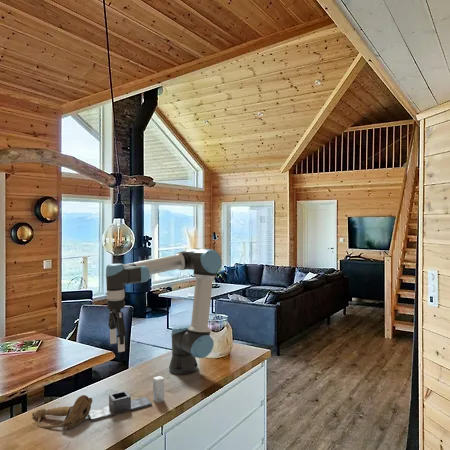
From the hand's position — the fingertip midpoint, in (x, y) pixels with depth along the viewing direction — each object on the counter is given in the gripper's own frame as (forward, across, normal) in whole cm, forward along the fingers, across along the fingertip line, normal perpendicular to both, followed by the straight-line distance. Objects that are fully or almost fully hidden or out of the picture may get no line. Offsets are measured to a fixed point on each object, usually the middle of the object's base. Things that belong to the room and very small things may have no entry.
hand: (117, 347), depth 178 cm
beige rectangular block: (+24, +9, +15) cm, 30 cm away
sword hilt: (+24, +4, -26) cm, 35 cm away
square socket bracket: (+24, +8, -2) cm, 25 cm away
